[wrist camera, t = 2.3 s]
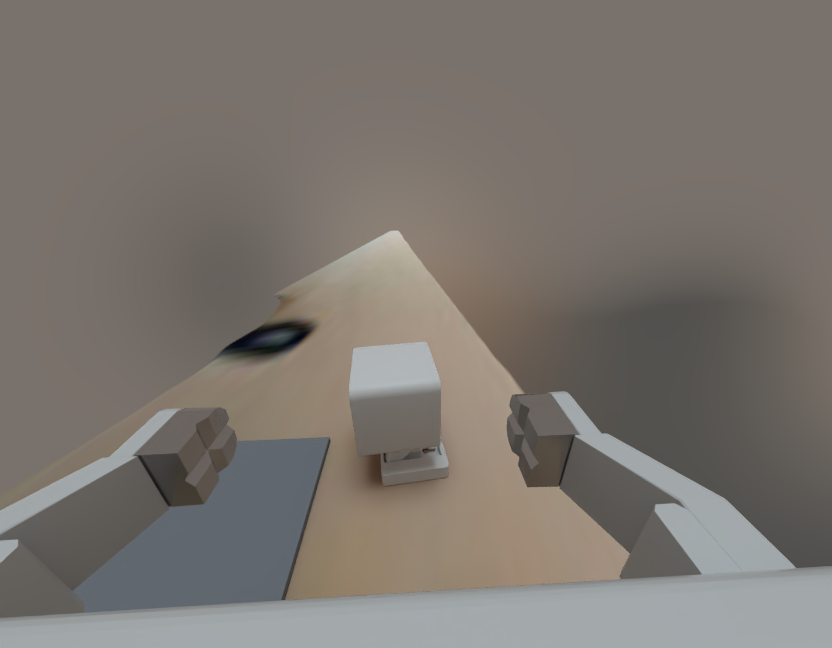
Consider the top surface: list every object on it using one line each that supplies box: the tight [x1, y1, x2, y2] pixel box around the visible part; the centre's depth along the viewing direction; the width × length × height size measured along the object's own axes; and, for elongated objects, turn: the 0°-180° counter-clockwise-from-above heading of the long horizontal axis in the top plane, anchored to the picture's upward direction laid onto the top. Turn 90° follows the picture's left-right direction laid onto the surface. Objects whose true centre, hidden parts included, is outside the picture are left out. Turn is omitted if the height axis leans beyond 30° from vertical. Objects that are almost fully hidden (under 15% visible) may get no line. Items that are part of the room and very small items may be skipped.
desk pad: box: [73, 437, 330, 613], centre depth 20 cm, size 16×16×1 cm
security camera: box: [349, 342, 448, 486], centre depth 24 cm, size 6×7×10 cm
